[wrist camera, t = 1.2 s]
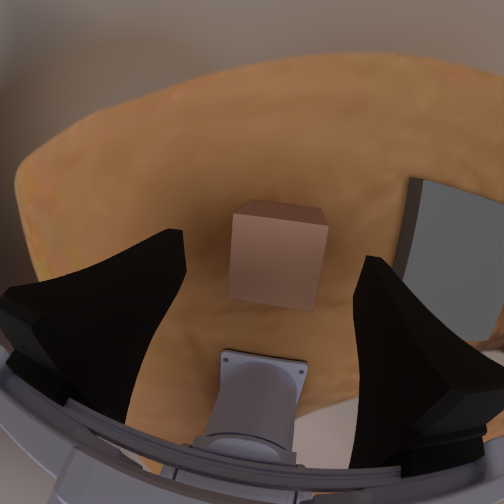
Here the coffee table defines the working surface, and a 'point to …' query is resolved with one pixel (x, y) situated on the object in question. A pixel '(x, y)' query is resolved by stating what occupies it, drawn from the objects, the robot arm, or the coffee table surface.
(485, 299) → the charcoal flat pad
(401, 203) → the coffee table surface
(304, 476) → the robot arm
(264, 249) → the terracotta block
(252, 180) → the coffee table surface
